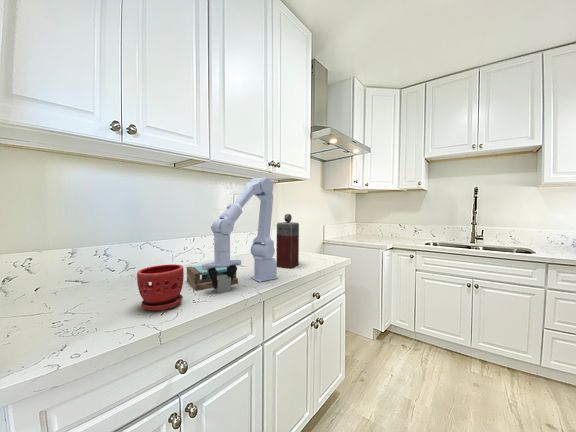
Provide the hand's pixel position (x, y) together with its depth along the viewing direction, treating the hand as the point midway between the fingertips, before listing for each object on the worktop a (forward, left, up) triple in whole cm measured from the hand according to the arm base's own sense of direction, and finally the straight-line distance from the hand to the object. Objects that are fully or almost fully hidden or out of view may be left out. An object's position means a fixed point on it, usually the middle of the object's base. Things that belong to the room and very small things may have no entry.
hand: (222, 286), depth 93 cm
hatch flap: (0, -13, +1) cm, 13 cm away
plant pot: (+21, +3, -2) cm, 21 cm away
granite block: (0, 0, -1) cm, 1 cm away
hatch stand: (0, -13, -1) cm, 13 cm away
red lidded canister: (-42, -19, -2) cm, 46 cm away
